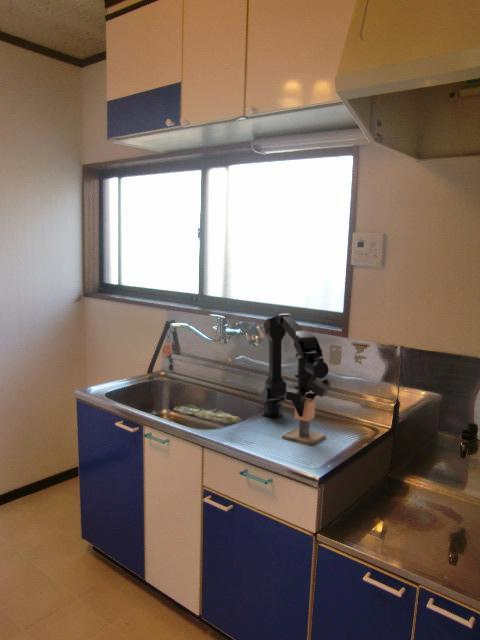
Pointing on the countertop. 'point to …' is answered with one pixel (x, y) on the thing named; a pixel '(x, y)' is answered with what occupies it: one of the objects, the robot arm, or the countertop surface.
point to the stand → (304, 434)
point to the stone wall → (208, 414)
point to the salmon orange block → (307, 411)
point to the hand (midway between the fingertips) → (304, 414)
